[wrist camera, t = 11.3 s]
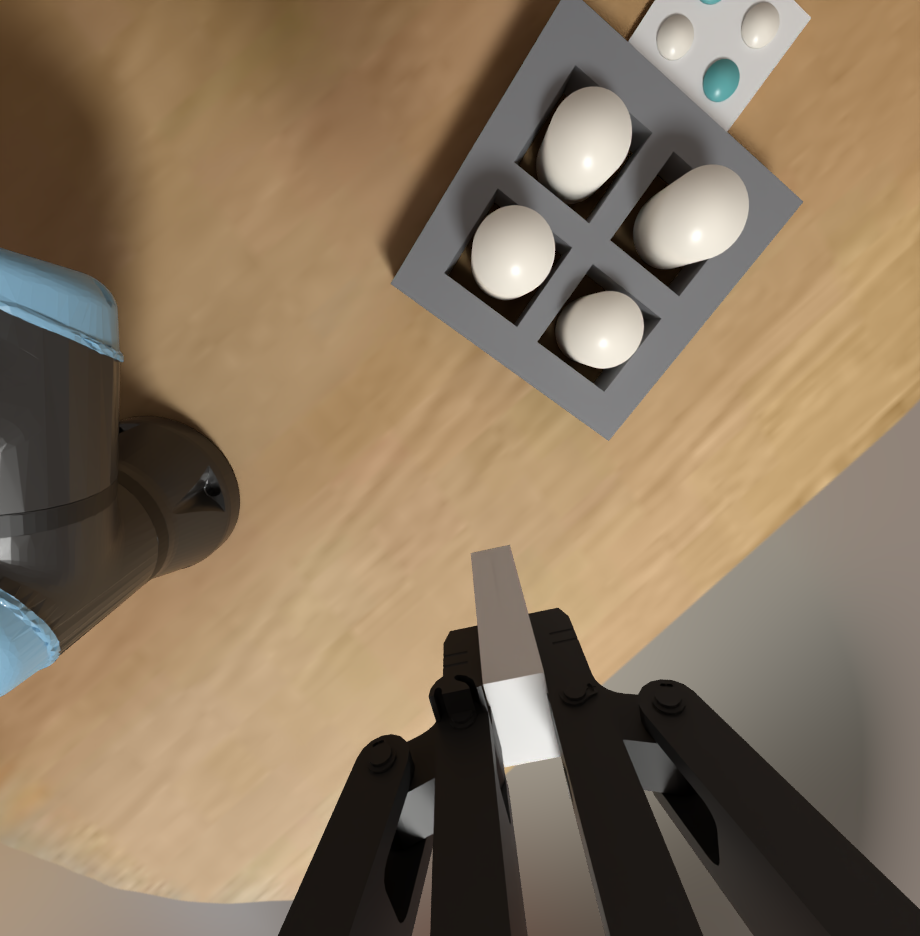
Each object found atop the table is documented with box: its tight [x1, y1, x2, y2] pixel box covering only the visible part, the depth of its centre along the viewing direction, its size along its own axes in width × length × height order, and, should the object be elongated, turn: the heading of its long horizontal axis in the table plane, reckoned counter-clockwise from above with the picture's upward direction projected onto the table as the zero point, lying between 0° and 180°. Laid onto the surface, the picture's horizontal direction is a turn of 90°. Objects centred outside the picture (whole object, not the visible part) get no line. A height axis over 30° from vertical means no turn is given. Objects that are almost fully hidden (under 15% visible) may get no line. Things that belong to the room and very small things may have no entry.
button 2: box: [536, 87, 632, 204], centre depth 33 cm, size 6×6×6 cm
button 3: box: [555, 291, 644, 369], centre depth 37 cm, size 6×6×6 cm
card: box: [628, 0, 811, 132], centre depth 34 cm, size 10×9×1 cm
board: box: [391, 0, 803, 441], centre depth 36 cm, size 22×22×4 cm
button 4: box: [633, 165, 749, 269], centre depth 33 cm, size 6×6×6 cm
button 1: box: [471, 205, 555, 300], centre depth 33 cm, size 6×6×6 cm
